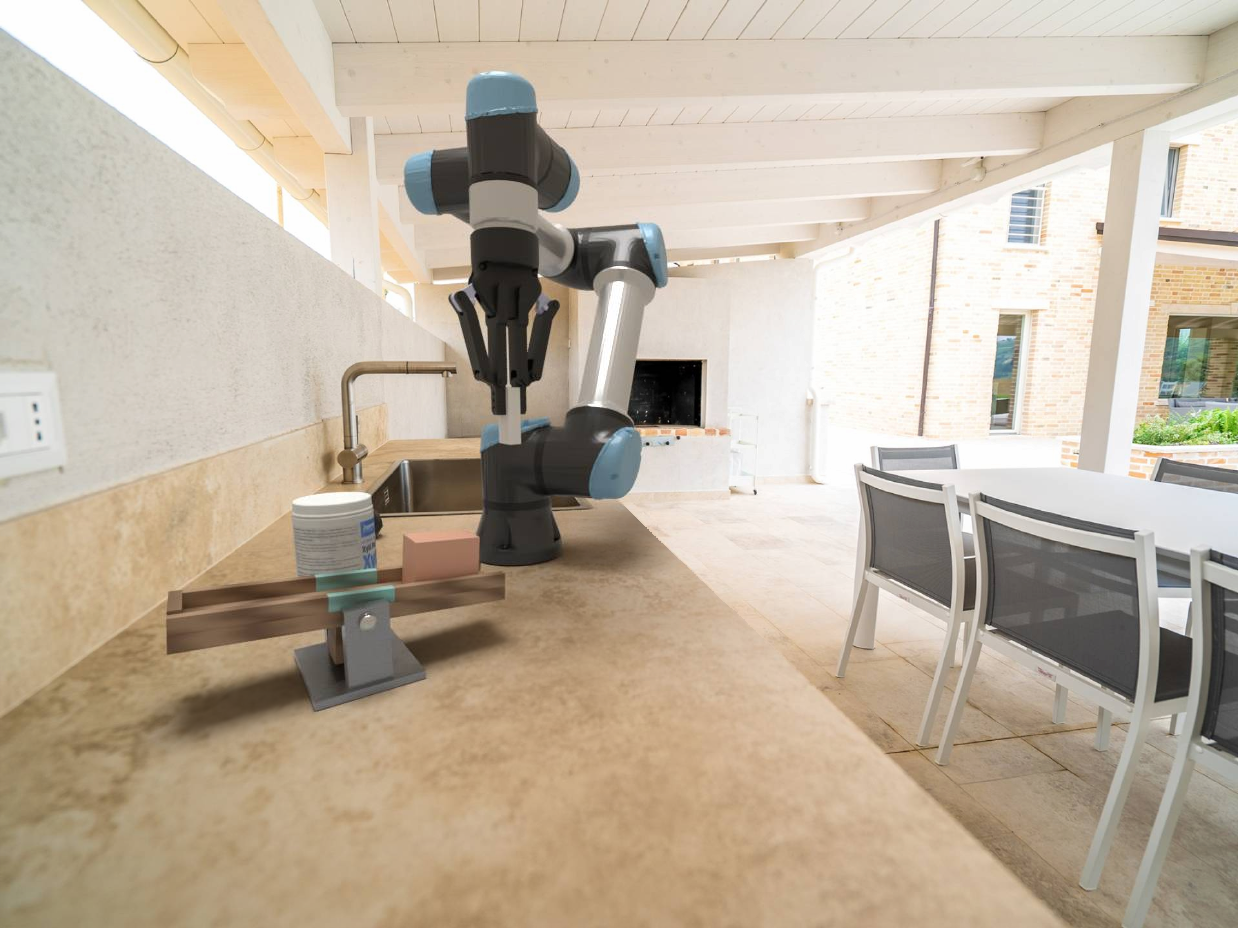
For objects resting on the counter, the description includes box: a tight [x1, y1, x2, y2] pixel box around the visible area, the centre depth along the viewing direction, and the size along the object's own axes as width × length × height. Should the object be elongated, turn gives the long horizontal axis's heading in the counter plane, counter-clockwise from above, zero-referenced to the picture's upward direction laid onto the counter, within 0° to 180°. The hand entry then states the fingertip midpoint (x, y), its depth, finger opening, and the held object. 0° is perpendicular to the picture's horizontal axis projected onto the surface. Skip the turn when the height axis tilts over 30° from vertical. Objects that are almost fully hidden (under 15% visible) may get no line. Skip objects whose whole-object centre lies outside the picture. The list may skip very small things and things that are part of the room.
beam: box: [165, 558, 506, 665], centre depth 59 cm, size 30×8×8 cm, turn 126°
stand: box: [293, 598, 427, 712], centre depth 60 cm, size 10×13×8 cm
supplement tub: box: [291, 491, 378, 577], centre depth 76 cm, size 10×10×15 cm
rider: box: [402, 528, 480, 584], centre depth 64 cm, size 7×4×6 cm, turn 126°
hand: (510, 443), depth 68 cm, fingers closed
